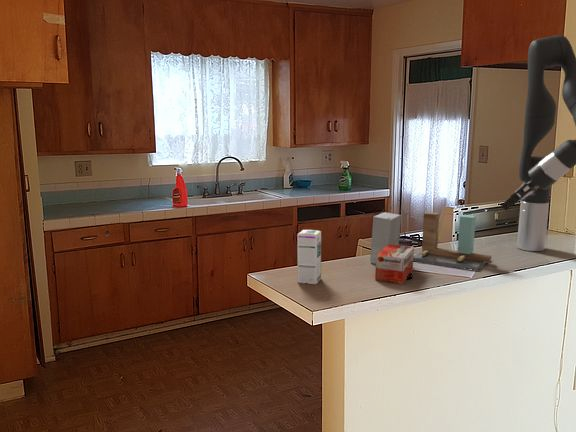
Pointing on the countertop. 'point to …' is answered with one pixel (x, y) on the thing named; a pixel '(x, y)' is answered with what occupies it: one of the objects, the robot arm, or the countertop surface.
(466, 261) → the flange plate
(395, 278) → the medicine box
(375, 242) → the skincare box
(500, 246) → the countertop surface
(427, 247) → the wooden l-shaped stand
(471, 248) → the block
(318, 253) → the syrup box
